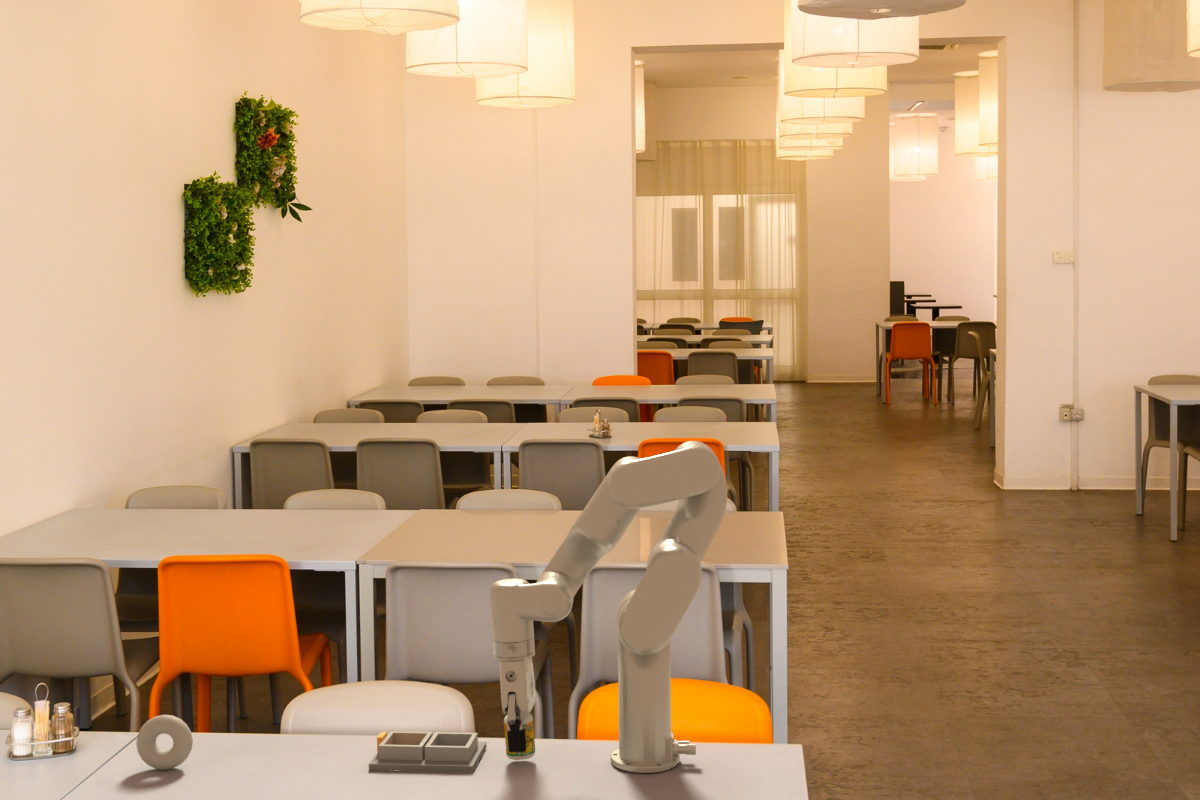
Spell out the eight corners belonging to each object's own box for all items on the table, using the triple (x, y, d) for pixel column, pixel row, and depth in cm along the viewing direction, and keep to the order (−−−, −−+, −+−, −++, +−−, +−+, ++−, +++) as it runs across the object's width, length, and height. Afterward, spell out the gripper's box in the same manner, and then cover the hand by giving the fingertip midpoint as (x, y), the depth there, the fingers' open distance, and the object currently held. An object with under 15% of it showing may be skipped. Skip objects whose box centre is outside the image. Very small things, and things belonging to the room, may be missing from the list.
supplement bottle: (526, 748, 219) (523, 697, 219) (541, 755, 215) (537, 703, 214) (500, 755, 216) (497, 703, 216) (515, 762, 212) (511, 710, 211)
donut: (196, 765, 216) (194, 711, 216) (190, 771, 213) (188, 717, 213) (141, 766, 216) (139, 712, 216) (134, 773, 213) (132, 718, 212)
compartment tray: (486, 747, 224) (486, 725, 223) (472, 772, 211) (472, 748, 210) (388, 745, 225) (388, 723, 225) (368, 770, 212) (368, 746, 212)
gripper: (527, 660, 206) (533, 761, 206) (541, 635, 223) (547, 729, 223) (484, 661, 206) (491, 763, 207) (502, 636, 223) (508, 730, 224)
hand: (520, 744), depth 215 cm, fingers closed on supplement bottle, 5 cm apart
